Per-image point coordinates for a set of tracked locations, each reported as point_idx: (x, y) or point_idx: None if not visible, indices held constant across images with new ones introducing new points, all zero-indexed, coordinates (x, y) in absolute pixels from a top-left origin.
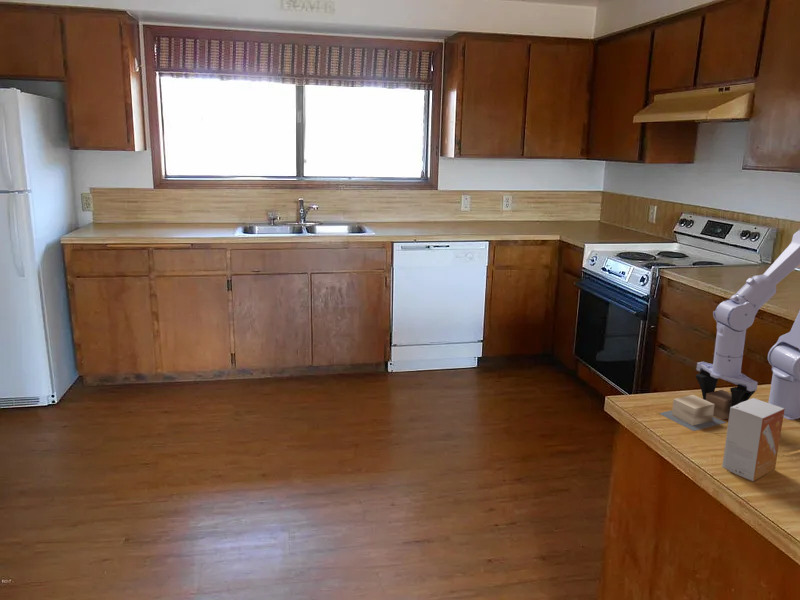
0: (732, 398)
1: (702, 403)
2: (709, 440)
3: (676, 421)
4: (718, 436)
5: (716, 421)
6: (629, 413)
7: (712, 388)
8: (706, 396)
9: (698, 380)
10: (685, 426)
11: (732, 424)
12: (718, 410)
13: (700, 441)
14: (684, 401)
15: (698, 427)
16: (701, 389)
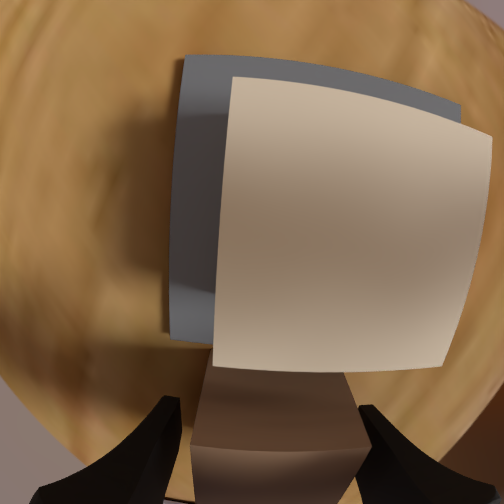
0: (133, 476)
1: (287, 284)
2: (84, 72)
3: (339, 76)
4: (85, 155)
5: (205, 305)
6: (499, 30)
7: (371, 498)
8: (361, 429)
9: (467, 483)
10: (256, 59)
11: None
12: (242, 386)
13: (104, 24)
14: (422, 164)
15: (200, 121)
16: (420, 452)
